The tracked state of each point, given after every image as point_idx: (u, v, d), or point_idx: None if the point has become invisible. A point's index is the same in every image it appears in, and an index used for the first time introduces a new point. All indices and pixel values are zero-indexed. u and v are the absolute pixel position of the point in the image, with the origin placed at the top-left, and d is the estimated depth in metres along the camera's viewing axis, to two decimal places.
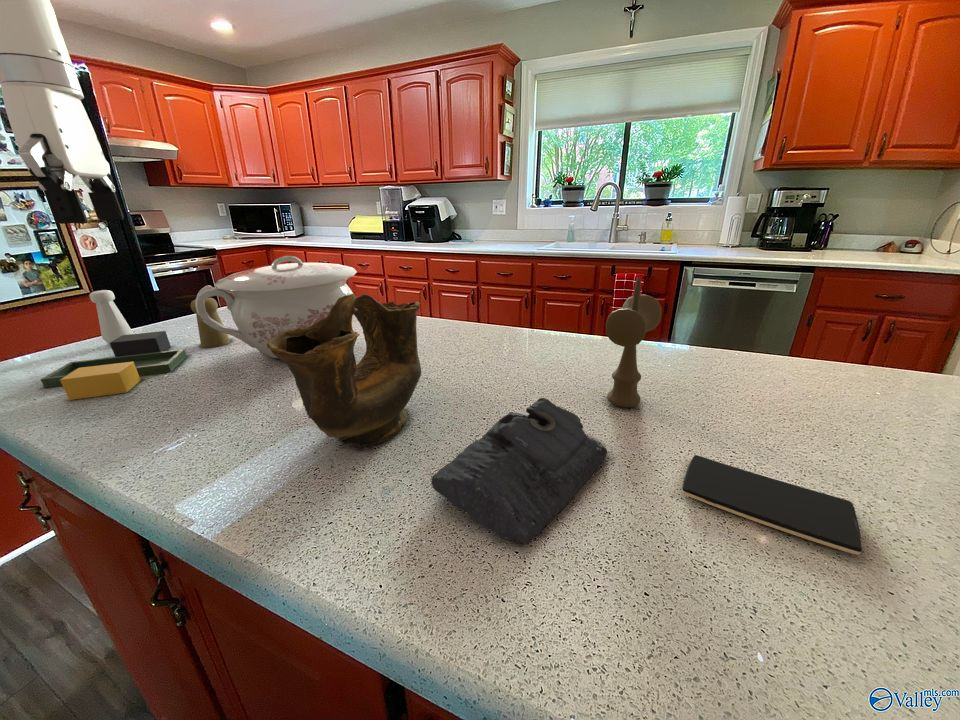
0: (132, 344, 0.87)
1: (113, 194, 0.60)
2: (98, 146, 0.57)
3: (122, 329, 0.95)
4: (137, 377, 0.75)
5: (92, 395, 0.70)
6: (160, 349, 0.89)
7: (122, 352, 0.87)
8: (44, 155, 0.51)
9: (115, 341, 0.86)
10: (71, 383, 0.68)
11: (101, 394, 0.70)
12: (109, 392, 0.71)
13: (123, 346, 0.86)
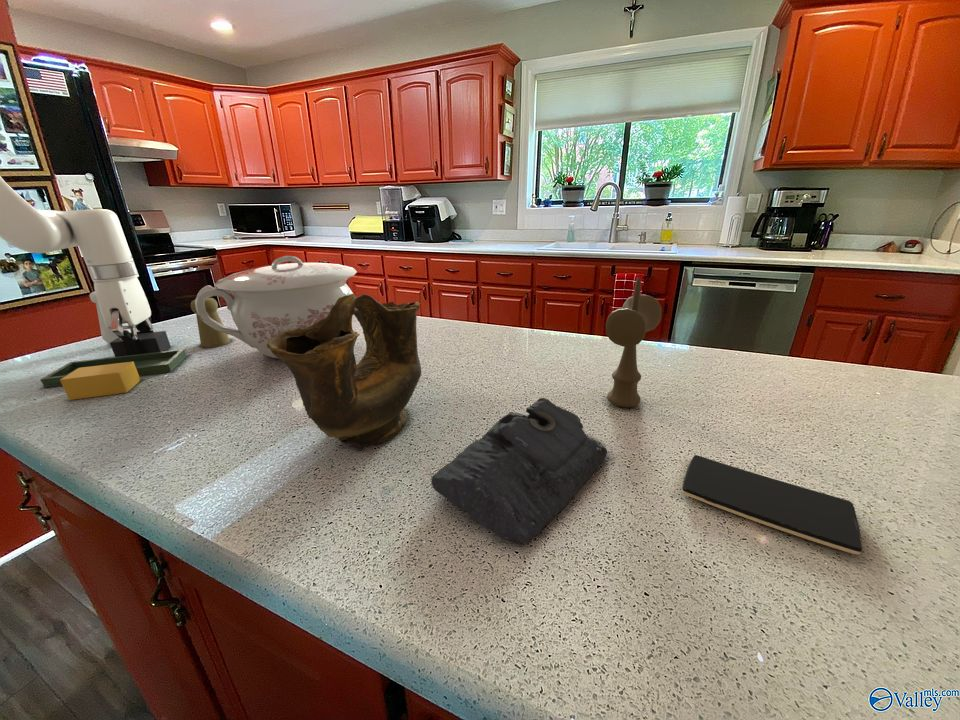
0: None
1: None
2: (145, 300, 0.90)
3: None
4: (137, 377, 0.75)
5: (92, 395, 0.70)
6: (160, 349, 0.89)
7: (122, 352, 0.87)
8: None
9: (115, 341, 0.86)
10: (71, 383, 0.68)
11: (101, 394, 0.70)
12: (109, 392, 0.71)
13: (123, 346, 0.86)
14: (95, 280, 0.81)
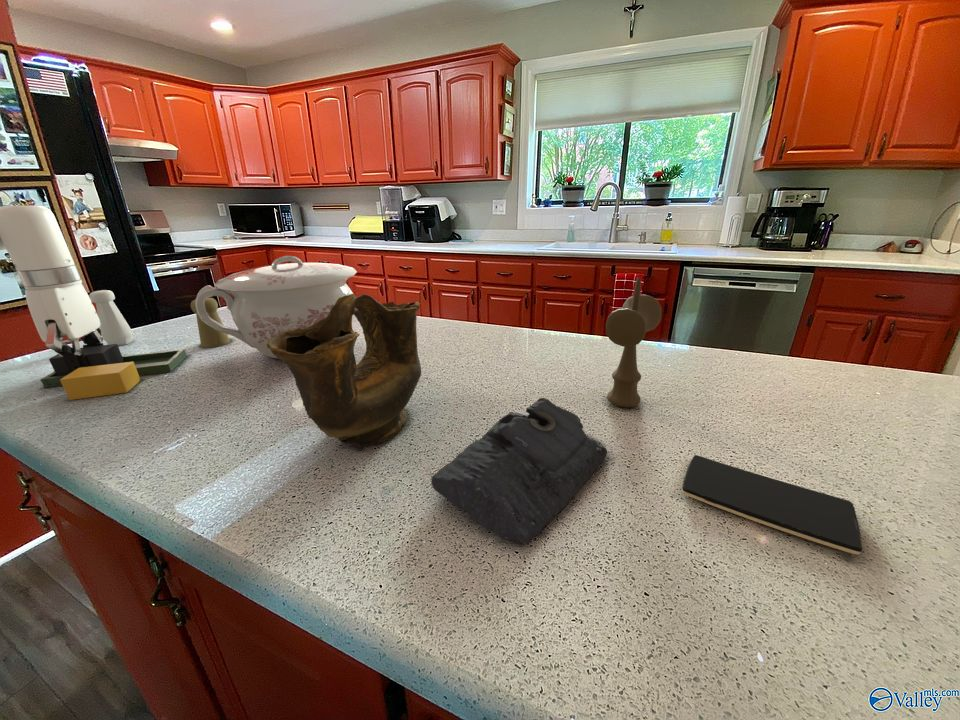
0: None
1: None
2: (92, 309, 0.79)
3: (122, 329, 0.95)
4: (137, 377, 0.75)
5: (92, 395, 0.70)
6: None
7: (64, 370, 0.76)
8: None
9: (56, 357, 0.75)
10: (71, 383, 0.68)
11: (101, 394, 0.70)
12: (109, 392, 0.71)
13: (65, 363, 0.76)
14: (27, 287, 0.70)
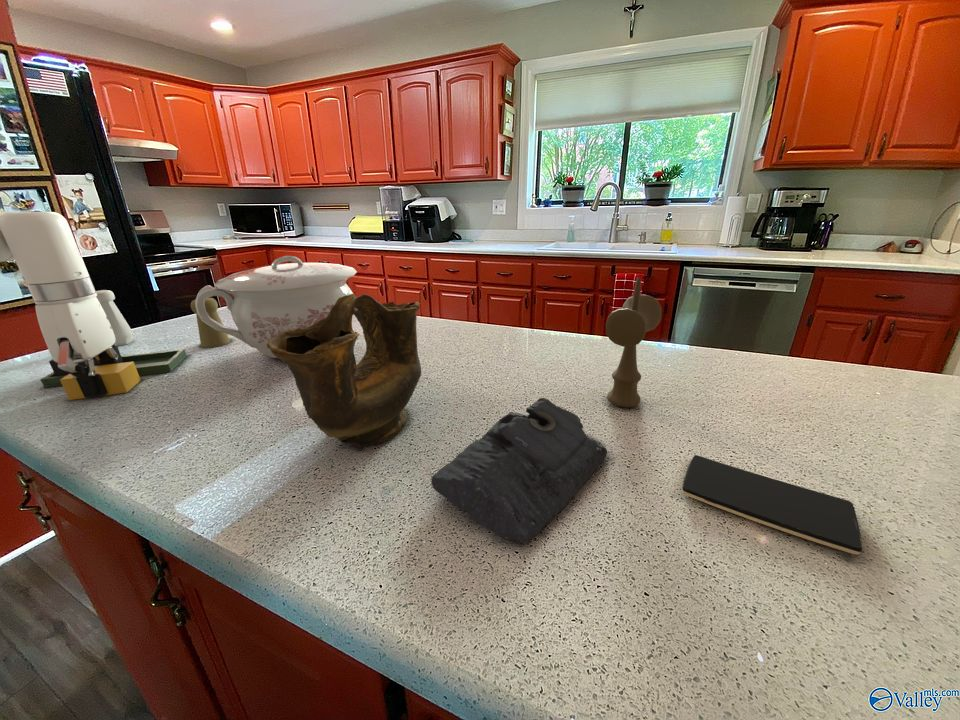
0: None
1: None
2: (107, 324, 0.72)
3: (122, 329, 0.95)
4: (137, 377, 0.75)
5: None
6: None
7: (64, 372, 0.76)
8: None
9: None
10: (71, 383, 0.68)
11: None
12: (109, 392, 0.71)
13: None
14: (37, 302, 0.63)
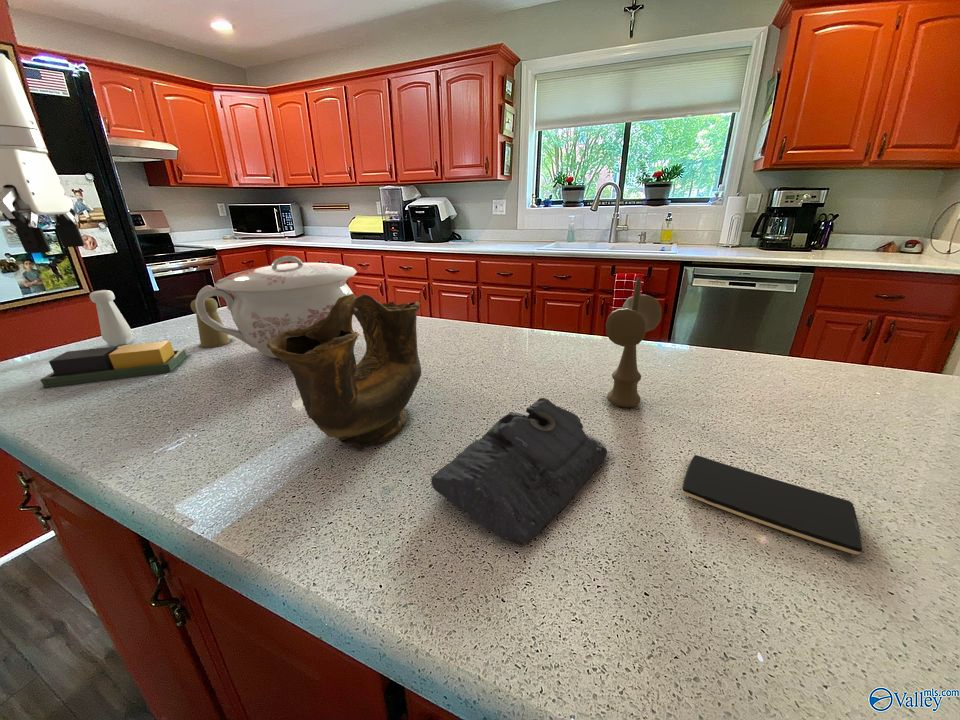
0: (75, 363, 0.76)
1: (74, 226, 0.74)
2: (61, 189, 0.71)
3: (122, 329, 0.95)
4: (173, 354, 0.85)
5: None
6: (109, 367, 0.78)
7: (64, 372, 0.76)
8: (15, 200, 0.65)
9: (56, 359, 0.75)
10: (118, 358, 0.78)
11: None
12: None
13: (65, 365, 0.76)
14: None
